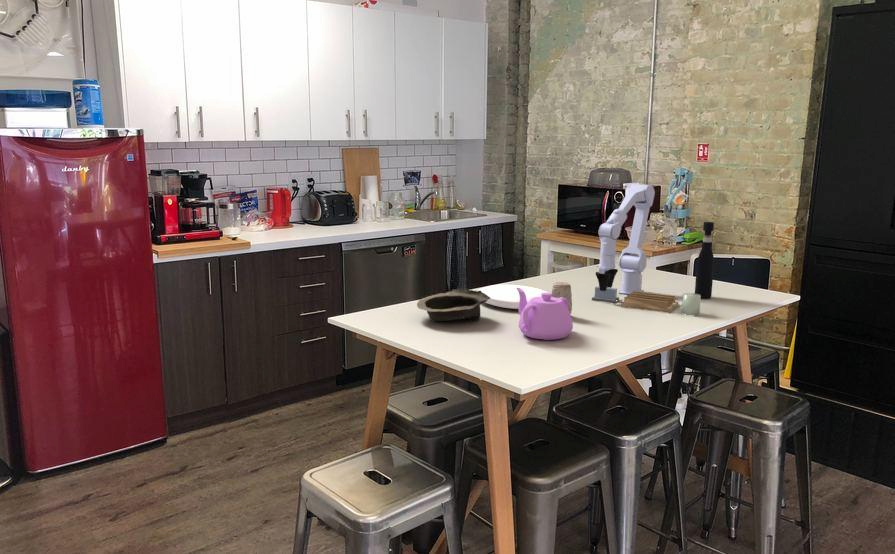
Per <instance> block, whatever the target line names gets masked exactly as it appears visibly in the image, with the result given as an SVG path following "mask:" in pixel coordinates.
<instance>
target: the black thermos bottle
mask: <svg viewBox="0 0 895 554" xmlns="http://www.w3.org/2000/svg"><path fill="white" fill-rule="evenodd" d="M702 227H703V228H702V231H703V232H704V234H703V235H704V236H703V238H702V239H703V240H702V242H701V249H700V252H699V254H698V256H697V257H698V258H697V261H696V272H695V274H696V275H695V283H694V284H695V286H694V293H695V294H699V295H701V299H700V300H710V298H711V299H712V291H713V280H714V268H715V257H714V252H713V249H712V248H713V242H712V241H713V240H712V239H713V237H712V232H714V229H715V228H714V227H715V222H713V221H703V225H702Z"/></svg>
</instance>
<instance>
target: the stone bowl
mask: <svg viewBox="0 0 895 554" xmlns="http://www.w3.org/2000/svg"><path fill="white" fill-rule="evenodd" d="M488 299H490V297H489V296H487V294H485V293H483V292H481V290H480V291H478V290H473V289H467V288H465V289H463V288H456V289H454V288H453V289H452V290H450V291H447V292H445V293H442V292H441V293H437V294H433V295H430V296H426V297H423V298H421V299H419V300H418V301H417V303H416V306H417V308H418V309H419V310H422V311H426V313H427V315H428V316H429V318H430V320H431V321H432V322H445V321H451V320H452V321H455V320H461V319H465V320H469V321H471V322H479V321H480V319H481V305H483V304H485V302H487V300H488Z"/></svg>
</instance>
